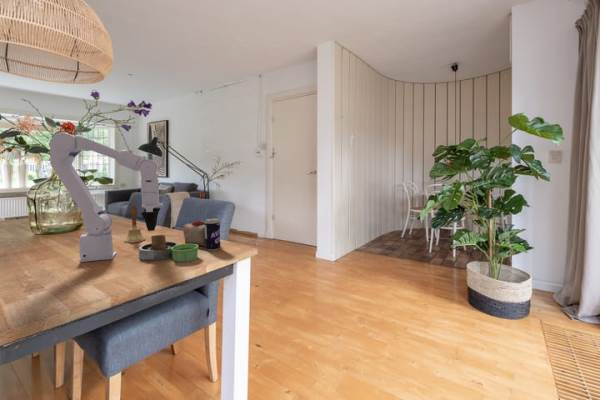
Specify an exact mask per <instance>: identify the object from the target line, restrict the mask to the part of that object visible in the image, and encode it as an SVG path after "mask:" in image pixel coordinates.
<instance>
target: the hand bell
mask: <svg viewBox="0 0 600 400" xmlns="http://www.w3.org/2000/svg"><path fill="white" fill-rule="evenodd" d="M129 212H130V217H131V227H129V228H128V233H127V236H126V238H125V239H124V243H127V244H128V243H131V244H132V243H141V242H143V241H146V240H147V239H146V237H144V236H143V234H142V232H141V228H140V227H138V226H137V216H138V209H137V207H136V205H135V204H131V208H130V211H129Z"/></svg>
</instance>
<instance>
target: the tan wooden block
mask: <svg viewBox="0 0 600 400" xmlns="http://www.w3.org/2000/svg"><path fill="white" fill-rule="evenodd" d="M150 238H151V243H152V250H156V249H166V234H159V235H157V234H156V235H151V236H150Z"/></svg>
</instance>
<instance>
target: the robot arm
mask: <svg viewBox="0 0 600 400" xmlns="http://www.w3.org/2000/svg"><path fill="white" fill-rule="evenodd" d="M48 146H49V149H50V152H49V153H50V154H49V155H50V156H49V163H50V166H51V168H52V169H53V171H54V172H55V174H56V175H57V176H58V178H59V180H60V181H61V183H62V184H63V186H64V187H65V189H66V190H67V192H68V193H69V195H70V197H71V198H72V200H73V201H74V202H75V204H76V205H77V208H78V209H79V211H80V212H81V213H80V216H81V219H82V221H83V227H84V230H85V231H86V234H85V233H84V234H80V236H79V240H78V247H79V258H80V259H79V263H85V262H94V261H103V260H112V259H113V258H114V257H115V256H116V254H117V252H116V251H114V247H113V246H114V245H113V244H114V243H113V232H112V229H111V227H112V224H113V218H112V216H111V215H110V214H108V213H107V212H105V210H104V209H103V208H102V206H100V205H99V204H98V203H97V202H96V200H95V199H94V197H93V196H92V194H91V192H90V191H89V189H88V187H87V186H86V184H85V183H84V181H83V180H82V178H81V177H80V175H79V174H78V172H77V170H76V168H75V167H74V166H73V163H74V161H75V159H76V157H77V156H78V155H79V154H81V152H82V151H83V152H90V151H91V152H94V153H97V154H100V155H103V156H106V157H108V158H111V159H114V160H115V161H116V163H117V164H118V165H119V166H122V167H125V168H127V169H130V170H132V171H135V172H140V175H141V176H140V178H141V179H140V189H141V191H140V192H141V208H144V209H143V211H141V212H140V214H141V216H142V218H143V219H144V222H145V226H146V229H147V232H152V231H153V232H154V231H155V230H156V227H157V222H158V217H159V212H160V211H161V207H163V206H164V204H163V203H160V189H159V187H160V186H159V183H160V182H159V174H158V172H159V164H158V163H157V162H156V161H155V160H153V159H147V156H145V155H143V156H142V155H139V154H137V153H135V152H134V150H131V149H122V150H117V149H115V148H112V147H110V146H108V145H105V144H103V143H101V142H97V141H96V140H93V139H92V138H91V139H90V138H87V137H83V136H79V135H76V134H69V133H68V132H65V131H64V132H62V131H60V132H56V133H54V135H53V136H51V139H50V140H49V142H48Z"/></svg>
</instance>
